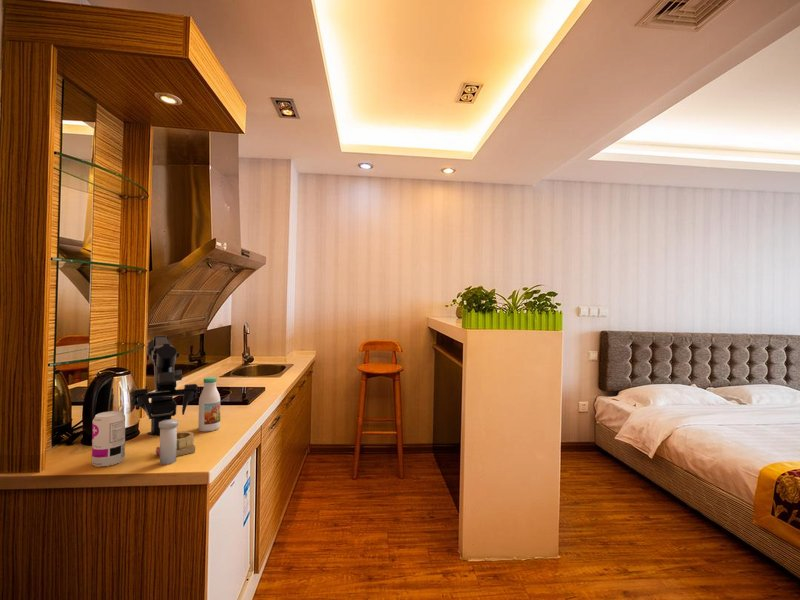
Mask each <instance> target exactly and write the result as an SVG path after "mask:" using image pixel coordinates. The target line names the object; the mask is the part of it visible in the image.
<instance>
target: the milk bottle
mask: <svg viewBox="0 0 800 600" xmlns="http://www.w3.org/2000/svg"><path fill="white" fill-rule="evenodd" d="M216 384H217V377H215V376H210V377H209V376H208V377H204V378H203V389H202V391H201V393H200V396H199V399H198V420H197V421H198V431H200V432H205V433H206V432H213V431H216V430H218V429H220V428H221V396H220V395H221V394H220V393H219V391H218V388H217V385H216Z"/></svg>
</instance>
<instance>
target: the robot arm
mask: <svg viewBox="0 0 800 600" xmlns="http://www.w3.org/2000/svg"><path fill="white" fill-rule="evenodd" d="M147 356H149V358H148V359H149V360H148V361H149V362H150V363H151V364H152V365H153V371H154V373H153V374H154V391H148V387H147V388H146V387H145V388H137V389H136V388H135V389H134V390H133V391H132V406H135V407H138V408H141V409H142V410H143V411H144V412H145V414H146V415H147V417H148V420H151V422H150V423H151V424H150V427H151V428H150V429H151V431H149V432H147V435H151V436H152V435H153V436H159V437H160V428H159V422H160V421H163V420H169V419H172V417H175V415H177V407H178V406H177V405H178V403H177V402H176V400H175V399H174V398H173V397H178V396H183V398H182V399H183V400H182V409H181V414H182V416H184V415H185V412H186V409H187V407H188V404H189V403H190V402H193V400H195V399H197V398H198V393H199V385H198V384H197V383H190V384H189V383H188V384H184V388H182V389H181V388H179V389H176V388H177V381H182V379H183V373H182V369H177V370H175V364H176V360H177V359H178V357H180V353H179V351H177V349H176V348H175V347H174V345H172V341H171V340H169V336H168V335H155V336H153V339H151V340H150V341H148V342H147Z"/></svg>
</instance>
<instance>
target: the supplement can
mask: <svg viewBox="0 0 800 600" xmlns="http://www.w3.org/2000/svg"><path fill="white" fill-rule="evenodd" d="M91 425H92V431H91V432H92V435H91V436H92V438H91V443H92V444H91V465H93V466H94V465H95V466H94V467H96V466H107V467H110V466H109V465H112V466H115V465H118V464H119V463H122V462H123V461H124V460H125V458H126V455H125V454H126V415H125V413H124V412H123V411H122V410H111V411H109V410H108V411H103V412H99V413H97V414H95V416H94V418H93V419H92V423H91ZM117 463H118V464H117ZM114 464H115V465H114Z"/></svg>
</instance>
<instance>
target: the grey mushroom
mask: <svg viewBox="0 0 800 600" xmlns="http://www.w3.org/2000/svg"><path fill="white" fill-rule="evenodd" d="M178 426H179V419H175V418H173V419H172V418H171V419H169V420H163V421H160V422H159V428H160V436H159V447H160V456H159V465H162V466H167V465H172V464H175V463H176V462H177V457H176V450H177V433H178V432H177V431H178ZM174 462H175V463H174Z"/></svg>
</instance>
